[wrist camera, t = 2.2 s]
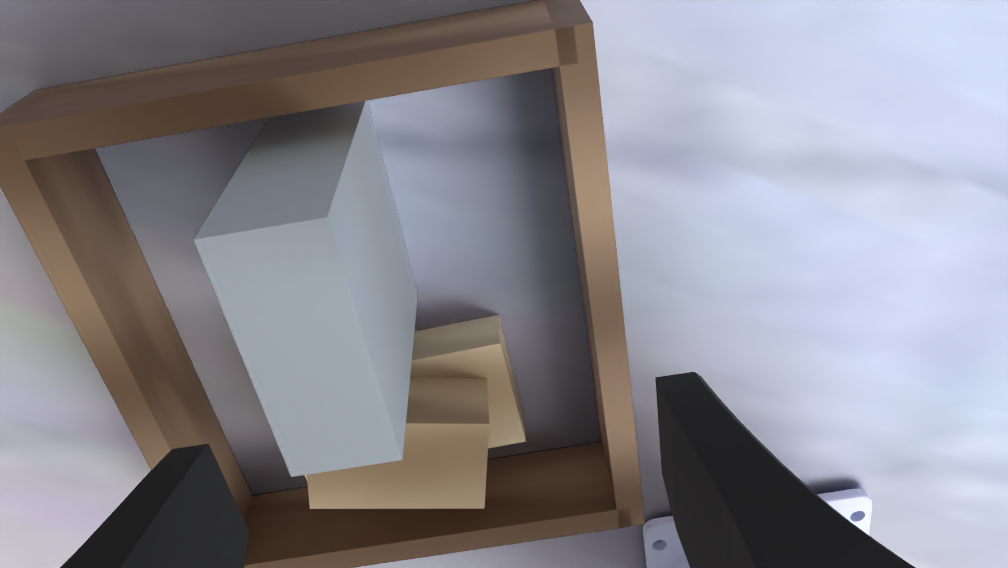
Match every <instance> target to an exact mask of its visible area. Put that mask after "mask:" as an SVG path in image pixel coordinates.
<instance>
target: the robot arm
mask: <svg viewBox="0 0 1008 568" xmlns="http://www.w3.org/2000/svg"><path fill="white" fill-rule="evenodd" d="M656 392H657V407H658V422H659V436H660V451H661V466H662V475H663V479H664V483H665V487H666V491H667V495H668V499H669V503H670V507H671V511H672V515H673V516H667V517H660V518H655V519H651V520H649V521H648V522H646V523H645V525H644V526H643V538H644V547H645V556H646V566H647V568H915V567H914V566H912V565H910V564H909V563H907V562H906V561H904V560H903V559H902V558H900V557H899V556H897V555H896V554H894V553H893V552H892V551H890V550H889V549H887V548H886V547H884V546H883V545H881V544H880V543H879V542H877V541H876V540H874V539H873V538H872V537H870V536H869V531H870V521H871V511H872V499H871V497H870V496H869V494H868V493H867V492H866V491H865V490H863V489H849V490H842V491H836V492H829V493H822V494H816V493H815V492H814V491H812V490H811V489H810V488H809V487H808V486H807V485H806V484H804V483H803V482H802V481H801V480H800V479H799V478H797V477H796V476H795V475H794V474H793V473H792V472H791V471H790V470H789V469H788V468H787V467H785V466H784V465H783V464H782V463H781V462H780V461H779V460H778V459H777V458H776V457H775V456H774V455H773V454H772V453H771V452H770V451H769V450H768V449H767V448H766V447H765V446H764V445H763V444H762V443H761V442H760V441H759V440H758V439H757V438H756V437H755V436H754V435H753V434H752V433H751V432H750V431H749V430H748V429H747V428H746V427H745V426H744V425H743V424H742V423H741V422H740V421H739V420H738V419H737V418H736V416H735V415H734V414H733V413H732V412H731V411H730V410H729V409H728V408H727V407H726V405H725V404H724V403H723V402H722V401H721V400H720V399H719V398H718V396H717V395H716V394H715V393H714V392H713V390H712V389H711V388H710V387H709V386H708V384H707V383H706V382H705V381H704V379H703V378H702V377H701V376H699V375H698V374H697V373H695V372H690V373H683V374H676V375H669V376H663V377H656ZM856 511H857V512H856ZM248 535H249V530H248V528H247V526H246V524H245V522H244V519H243V517H242V515H241V513H240V511H239V508H238V506H237V504H236V502H235V500H234V498H233V495H232V493H231V491H230V489H229V487H228V484H227V482H226V480H225V478H224V476H223V473H222V471H221V469H220V467H219V465H218V462H217V460H216V458H215V456H214V454H213V451H212V449H211V447H210V445H209V444H202V445H196V446H189V447H182V448H175V449H172V450H171V451H170V452H169V453H168V454H167V455H166V456H165V457H164V458H163V459H162V460H161V461H160V462H159V463H158V464H157V465H156V466H155V467H154V468H153V469H152V470H151V471H150V472H149V473H148V475H147V476H146V477H145V478H144V479H143V480H142V481H141V482H140V483H139V484H138V485H137V486H136V488H135V489H134V490H133V491H132V492H131V493H130V494H129V495H128V496H127V497H126V499H125V500H124V501H123V502H122V503H121V504H120V505H119V506H118V507H117V508H116V510H115V511H114V512H113V513H112V514H111V515H110V516H109V517H108V518H107V519H106V520H105V521H104V522H103V523H102V525H101V526H100V527H99V528H98V529H97V530H96V531H95V532H94V533H93V534H92V535H91V536H90V537H89V539H88V540H87V541H86V542H85V543H84V544H83V545H82V546H81V547H80V548H79V549H78V550H77V551H76V552H75V553H74V554H73V555H72V556H71V557H70V558H69V559H68V560H67V561H66V562H65V563H64V564H63V565H62V566H61V567H60V568H244V566H245V558H246V550H247V543H248ZM658 540H661V541H658ZM655 541H658V542H655Z"/></svg>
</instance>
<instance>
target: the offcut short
mask: <svg viewBox="0 0 1008 568" xmlns="http://www.w3.org/2000/svg"><path fill="white" fill-rule="evenodd" d="M489 425H490V423H489V407H488V390H487V379H467V378H410V384H409V395H408V405H407V416H406V426H405V437H404V448H403V458H402V460H399V461H393V462H386V463H380V464H373V465H367V466H360V467H353V468H347V469H340V470H334V471H327V472H321V473H314V474H308V475H307V484H308V494H309V505H310V509H484V507H485V491H486V474H487V458H488V441H489Z"/></svg>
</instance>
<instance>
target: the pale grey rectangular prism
mask: <svg viewBox="0 0 1008 568" xmlns="http://www.w3.org/2000/svg"><path fill="white" fill-rule="evenodd" d="M194 243H195V245H196V248H197V250H198V252H199V255H200V257H201V260H202V262H203V265H204V267H205V269H206V272H207V274H208V277H209V279H210V281H211V284H212V286H213V289H214V291H215V294H216V296H217V298H218V301H219V303H220V306H221V308H222V311H223V313H224V315H225V318H226V320H227V323H228V325H229V328H230V330H231V332H232V335H233V337H234V340H235V342H236V345H237V347H238V349H239V352H240V354H241V357H242V359H243V361H244V364H245V366H246V369H247V371H248V374H249V376H250V378H251V381H252V383H253V386H254V388H255V391H256V393H257V395H258V398H259V400H260V403H261V405H262V408H263V410H264V412H265V415H266V417H267V420H268V422H269V425H270V427H271V429H272V432H273V434H274V437H275V439H276V441H277V444H278V446H279V449H280V451H281V454H282V456H283V458H284V461H285V463H286V466H287V468H288V471H289V473H290V475H291V477H295V476H301V475H308V474H314V473H321V472H327V471H334V470H340V469H347V468H353V467H360V466H367V465H373V464H380V463H386V462H393V461H399V460H402V458H403V448H404V437H405V426H406V416H407V405H408V395H409V384H410V373H411V363H412V352H413V341H414V331H415V320H416V310H417V299H418V291H417V287H416V283H415V279H414V276H413V272H412V268H411V264H410V260H409V256H408V252H407V248H406V245H405V241H404V237H403V233H402V229H401V225H400V221H399V217H398V214H397V210H396V206H395V202H394V198H393V194H392V190H391V187H390V183H389V179H388V175H387V171H386V167H385V163H384V159H383V156H382V152H381V148H380V144H379V140H378V136H377V132H376V128H375V125H374V121H373V117H372V113H371V109H370V105H369V101H368V100H366V101H360V102H354V103H349V104H343V105H337V106H332V107H326V108H320V109H315V110H309V111H303V112H298V113H292V114H286V115H280V116H275V117H269V118H268V120H267V121H266V123H265V125H264V126H263V128H262V129H261V131H260V133H259V134H258V136H257V138H256V139H255V141H254V142H253V144H252V146H251V147H250V149H249V150H248V152H247V154H246V155H245V157H244V159H243V160H242V162H241V163H240V165H239V167H238V168H237V170H236V172H235V173H234V175H233V176H232V178H231V180H230V181H229V183H228V184H227V186H226V188H225V189H224V191H223V193H222V194H221V196H220V197H219V199H218V201H217V202H216V204H215V206H214V207H213V209H212V210H211V212H210V214H209V215H208V217H207V218H206V220H205V222H204V223H203V225H202V227H201V228H200V230H199V231H198V233H197V235H196V236H195V238H194Z"/></svg>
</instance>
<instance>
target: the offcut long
mask: <svg viewBox="0 0 1008 568" xmlns="http://www.w3.org/2000/svg"><path fill="white" fill-rule="evenodd" d="M410 378H467V379H487V390H488V407H489V423H490V425H489V441H488V448H494V447H499V446H504V445H510V444H515V443H521V442H526V438H525V427H524V417H523V409H522V405H521V401H520V397H519V393H518V389H517V385H516V381H515V377H514V374H513V370H512V366H511V362H510V358H509V354H508V350H507V346H506V342H505V338H504V334H503V330H502V326H501V323H500V319H499V315H494V316H489V317H484V318H479V319H474V320H469V321H464V322H459V323H454V324H449V325H444V326H439V327H434V328H429V329H424V330H419V331H414V341H413V352H412V363H411V373H410ZM304 476H305V478H306V480H307V475H304Z"/></svg>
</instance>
